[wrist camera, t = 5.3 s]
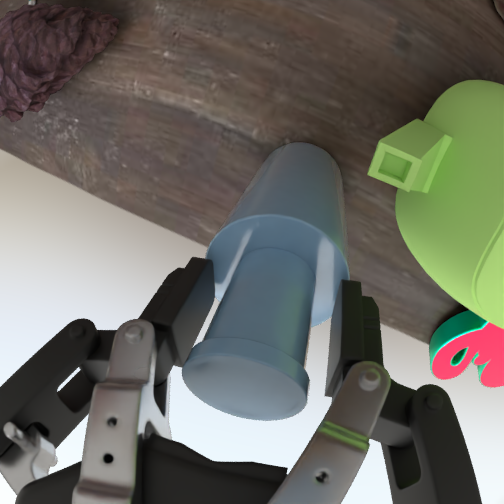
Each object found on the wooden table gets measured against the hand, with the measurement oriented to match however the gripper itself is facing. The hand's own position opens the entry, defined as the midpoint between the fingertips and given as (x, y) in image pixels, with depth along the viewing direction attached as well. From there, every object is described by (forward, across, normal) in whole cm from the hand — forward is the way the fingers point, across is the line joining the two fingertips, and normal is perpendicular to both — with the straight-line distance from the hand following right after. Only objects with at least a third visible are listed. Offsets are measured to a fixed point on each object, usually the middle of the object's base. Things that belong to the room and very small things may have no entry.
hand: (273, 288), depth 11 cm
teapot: (+11, -13, -3) cm, 17 cm away
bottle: (+11, 0, 0) cm, 11 cm away
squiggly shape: (+10, -23, +9) cm, 27 cm away
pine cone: (+12, +21, -12) cm, 27 cm away
